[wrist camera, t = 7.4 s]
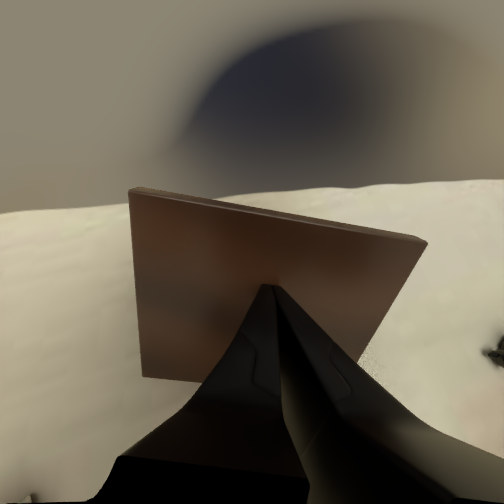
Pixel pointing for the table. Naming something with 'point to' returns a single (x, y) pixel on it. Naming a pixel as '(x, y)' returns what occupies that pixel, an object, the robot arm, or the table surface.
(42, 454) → the table surface
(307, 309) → the lid
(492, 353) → the black travel adapter
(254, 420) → the robot arm
